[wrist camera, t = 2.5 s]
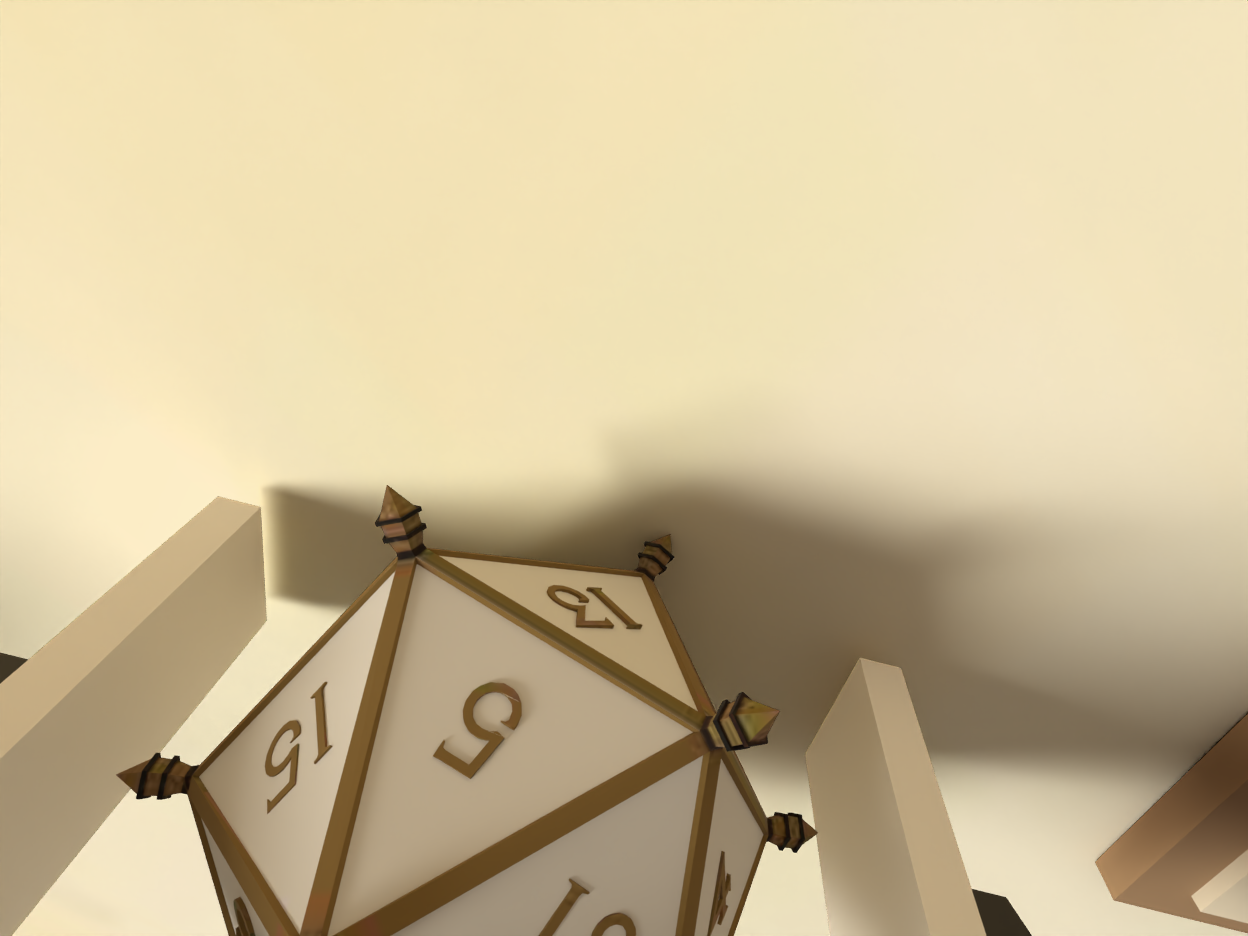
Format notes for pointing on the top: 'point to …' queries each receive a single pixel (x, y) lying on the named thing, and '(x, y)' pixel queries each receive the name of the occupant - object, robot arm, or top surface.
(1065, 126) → the top surface
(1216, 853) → the track
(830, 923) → the robot arm
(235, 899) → the game die
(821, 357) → the top surface
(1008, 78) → the top surface
